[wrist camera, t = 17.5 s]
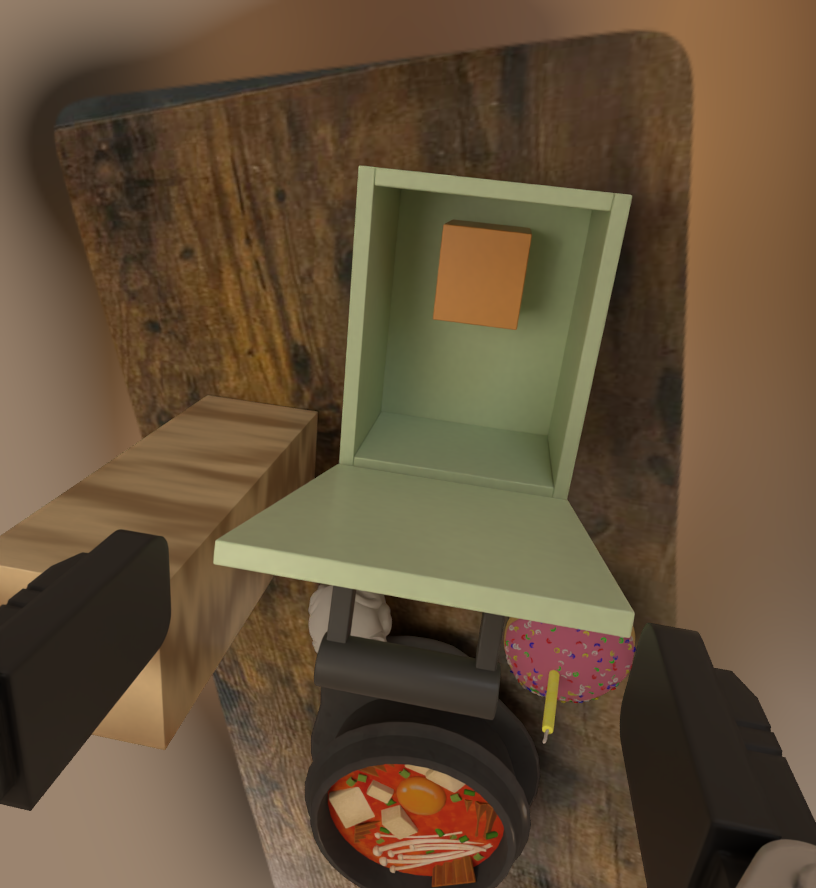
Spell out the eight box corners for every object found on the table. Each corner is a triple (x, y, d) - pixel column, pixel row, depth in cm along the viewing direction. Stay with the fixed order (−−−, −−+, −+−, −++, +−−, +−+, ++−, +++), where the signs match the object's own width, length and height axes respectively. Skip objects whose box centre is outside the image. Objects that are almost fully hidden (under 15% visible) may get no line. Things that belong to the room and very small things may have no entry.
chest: (391, 169, 39) (358, 165, 31) (608, 192, 38) (632, 195, 29) (370, 416, 45) (338, 467, 37) (557, 444, 43) (566, 503, 35)
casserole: (561, 851, 57) (568, 956, 49) (357, 854, 61) (334, 952, 53) (511, 608, 49) (510, 688, 41) (279, 631, 53) (238, 708, 45)
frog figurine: (334, 633, 52) (309, 696, 46) (310, 556, 50) (280, 611, 43) (408, 625, 51) (393, 689, 44) (387, 546, 48) (367, 602, 42)
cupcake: (542, 668, 50) (549, 805, 39) (481, 585, 48) (470, 704, 37) (647, 623, 47) (685, 757, 36) (586, 533, 45) (608, 645, 34)
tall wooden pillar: (207, 394, 46) (-36, 558, 26) (318, 411, 45) (156, 594, 25) (209, 496, 49) (-7, 714, 29) (312, 513, 48) (165, 750, 28)
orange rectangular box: (451, 219, 39) (443, 223, 34) (530, 227, 38) (532, 233, 34) (442, 304, 40) (432, 319, 36) (516, 313, 40) (516, 330, 35)
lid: (214, 539, 20) (198, 695, 21) (635, 612, 19) (604, 777, 19) (337, 463, 36) (326, 552, 37) (568, 499, 35) (552, 591, 36)
